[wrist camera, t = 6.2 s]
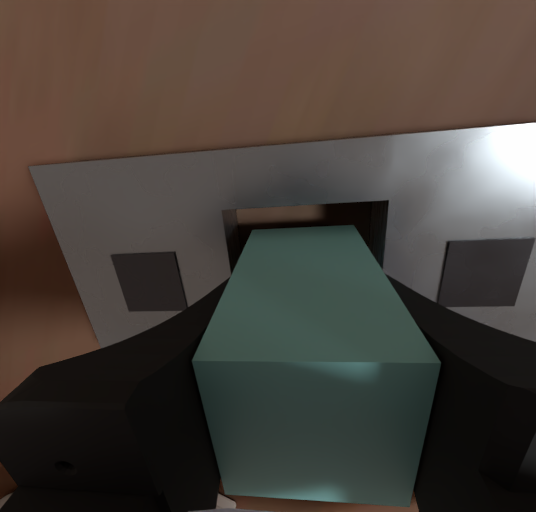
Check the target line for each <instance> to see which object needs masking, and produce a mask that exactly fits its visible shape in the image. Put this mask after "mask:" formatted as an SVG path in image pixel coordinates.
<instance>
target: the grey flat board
mask: <svg viewBox="0 0 536 512" xmlns="http://www.w3.org/2000/svg"><path fill="white" fill-rule="evenodd" d="M28 167H29V170H30V172H31V175H32V177H33V180H34V182H35V185H36V187H37V190H38V192H39V195H40V197H41V200H42V202H43V205H44V207H45V210H46V212H47V215H48V217H49V220H50V222H51V225H52V227H53V230H54V232H55V235H56V237H57V240H58V242H59V245H60V247H61V250H62V252H63V255H64V257H65V260H66V262H67V265H68V267H69V270H70V272H71V275H72V277H73V280H74V282H75V285H76V287H77V290H78V292H79V295H80V297H81V300H82V302H83V305H84V307H85V309H86V312H87V314H88V317H89V319H90V322H91V324H92V327H93V329H94V332H95V334H96V337H97V339H98V342H99V344H100V347H101V348H104V347H107V346H110V345H112V344H115V343H117V342H120V341H123V340H125V339H128V338H130V337H132V336H135V335H137V334H139V333H141V332H143V331H146V330H148V329H150V328H152V327H154V326H156V325H158V324H160V323H162V322H164V321H166V320H168V319H170V318H171V317H173V316H175V315H177V314H178V313H180V312H182V311H183V310H185V309H186V308H188V307H189V306H191V305H192V304H194V303H195V302H197V301H198V300H200V299H201V298H203V297H204V296H205V295H207V294H208V293H209V292H211V291H212V290H213V289H215V288H216V287H217V286H219V285H220V284H221V283H223V282H224V281H225V280H227V279H228V278H229V277H231V275H232V273H233V271H234V269H235V266H236V264H237V262H238V260H239V258H240V256H241V247H240V239H239V231H238V223H237V216H236V209H246V208H263V207H280V206H297V205H314V204H331V203H348V202H365V201H372V202H371V218H370V233H369V250H370V251H371V253H372V255H373V256H374V258H375V259H376V261H377V263H378V264H379V266H380V267H381V269H382V270H383V272H384V273H385V274H387V275H389V276H390V277H392V278H394V279H395V280H397V281H399V282H400V283H402V284H404V285H405V286H407V287H409V288H410V289H412V290H414V291H416V292H417V293H419V294H421V295H423V296H425V297H426V298H428V299H430V300H432V301H434V302H436V303H438V304H440V305H442V306H444V307H446V308H448V309H450V310H452V311H454V312H456V313H458V314H461V315H463V316H466V317H468V318H470V319H473V320H475V321H477V322H480V323H482V324H485V325H488V326H490V327H493V328H495V329H498V330H501V331H504V332H507V333H510V334H513V335H516V336H519V337H521V338H525V339H528V340H531V341H534V342H536V122H527V123H515V124H504V125H492V126H481V127H469V128H457V129H446V130H434V131H423V132H411V133H399V134H388V135H376V136H365V137H353V138H341V139H330V140H318V141H307V142H295V143H283V144H272V145H260V146H249V147H237V148H225V149H214V150H202V151H191V152H179V153H167V154H156V155H144V156H133V157H121V158H109V159H98V160H86V161H75V162H65V163H56V164H46V165H37V166H28Z"/></svg>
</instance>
